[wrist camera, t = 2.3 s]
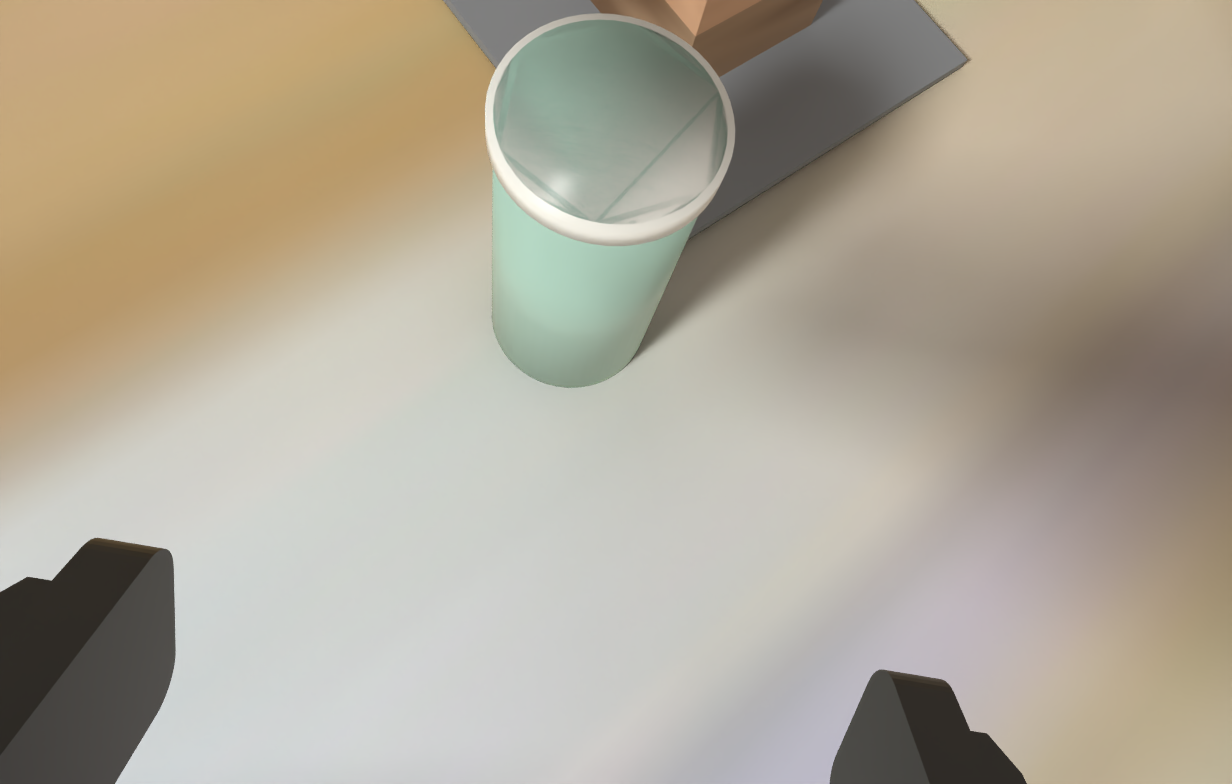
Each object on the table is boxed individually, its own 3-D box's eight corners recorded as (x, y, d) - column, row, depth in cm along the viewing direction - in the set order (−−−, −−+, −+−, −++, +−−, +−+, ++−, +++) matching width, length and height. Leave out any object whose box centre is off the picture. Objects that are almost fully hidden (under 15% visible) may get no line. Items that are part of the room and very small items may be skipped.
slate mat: (398, -57, 30) (397, -67, 30) (719, -204, 34) (721, -214, 34) (648, 264, 28) (650, 258, 27) (962, 66, 32) (967, 59, 31)
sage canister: (453, 292, 27) (434, 80, 17) (587, 212, 28) (636, -23, 19) (549, 424, 26) (584, 277, 16) (682, 336, 27) (784, 154, 18)
